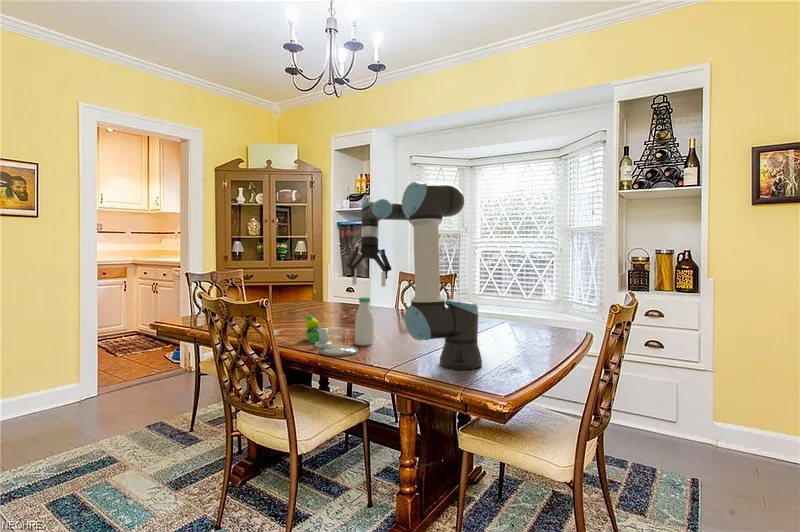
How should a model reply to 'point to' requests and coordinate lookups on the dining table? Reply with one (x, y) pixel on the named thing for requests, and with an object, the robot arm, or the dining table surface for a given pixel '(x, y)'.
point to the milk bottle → (364, 323)
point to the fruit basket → (312, 329)
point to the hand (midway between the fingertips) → (369, 285)
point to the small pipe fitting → (323, 338)
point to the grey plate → (339, 350)
